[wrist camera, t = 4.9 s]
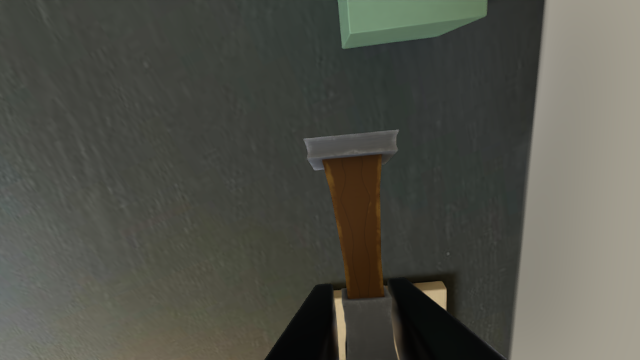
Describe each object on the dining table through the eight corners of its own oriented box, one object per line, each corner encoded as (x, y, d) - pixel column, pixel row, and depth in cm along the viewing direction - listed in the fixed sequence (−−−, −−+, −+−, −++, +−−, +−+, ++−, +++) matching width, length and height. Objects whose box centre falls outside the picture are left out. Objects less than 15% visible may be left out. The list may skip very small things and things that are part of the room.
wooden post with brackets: (339, 429, 9) (339, 643, 5) (318, 169, 10) (301, 135, 5) (399, 427, 9) (459, 643, 5) (373, 164, 10) (401, 126, 5)
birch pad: (442, 280, 18) (447, 288, 17) (441, 389, 21) (445, 400, 20) (311, 291, 19) (310, 300, 18) (327, 397, 21) (327, 408, 20)
